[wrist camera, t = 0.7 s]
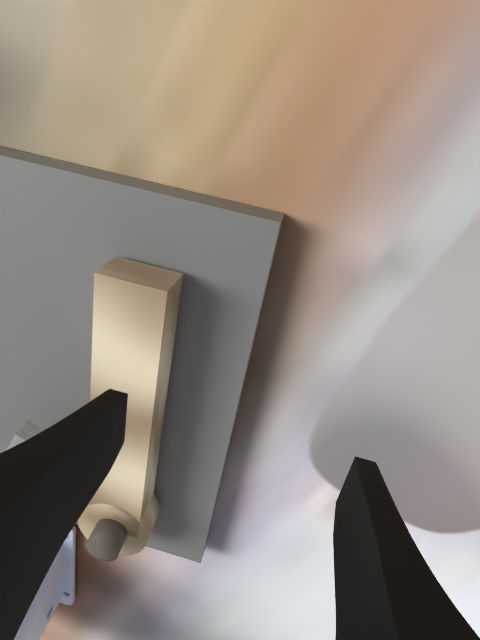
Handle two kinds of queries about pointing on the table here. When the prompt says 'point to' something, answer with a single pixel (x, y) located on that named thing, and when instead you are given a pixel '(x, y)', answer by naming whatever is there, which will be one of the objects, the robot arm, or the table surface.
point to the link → (131, 397)
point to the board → (77, 313)
